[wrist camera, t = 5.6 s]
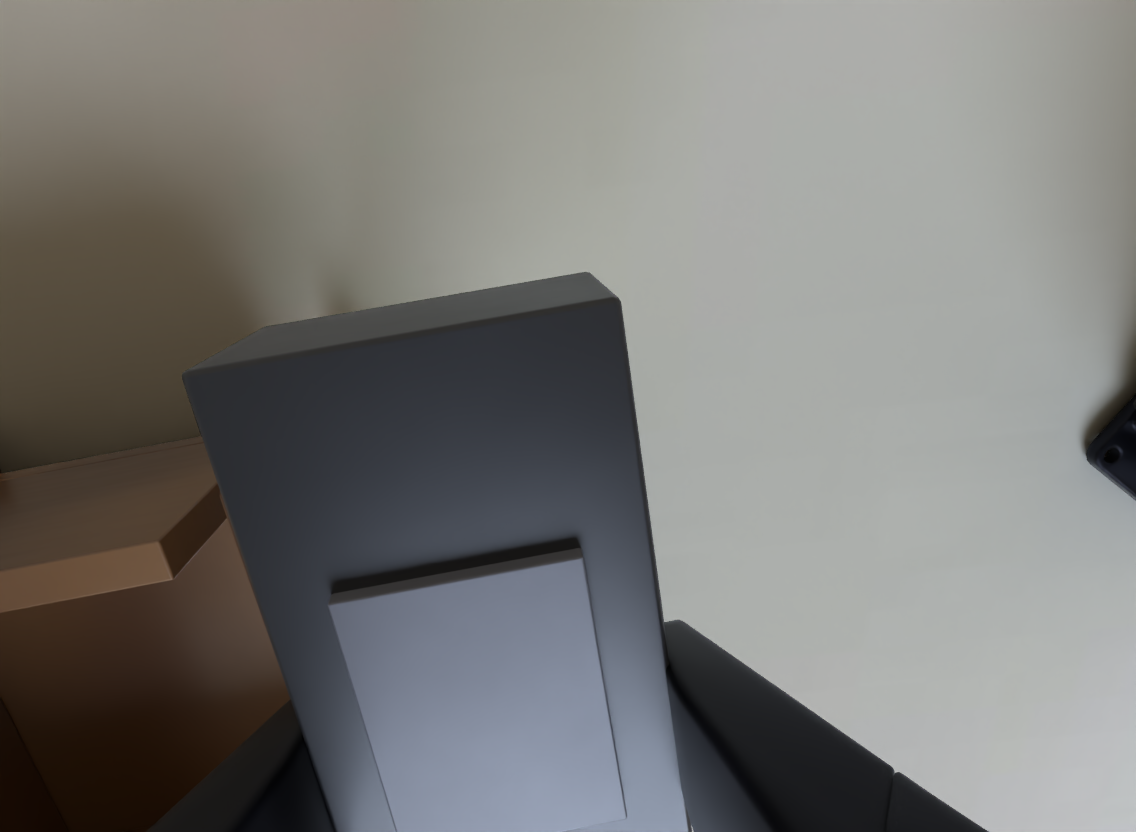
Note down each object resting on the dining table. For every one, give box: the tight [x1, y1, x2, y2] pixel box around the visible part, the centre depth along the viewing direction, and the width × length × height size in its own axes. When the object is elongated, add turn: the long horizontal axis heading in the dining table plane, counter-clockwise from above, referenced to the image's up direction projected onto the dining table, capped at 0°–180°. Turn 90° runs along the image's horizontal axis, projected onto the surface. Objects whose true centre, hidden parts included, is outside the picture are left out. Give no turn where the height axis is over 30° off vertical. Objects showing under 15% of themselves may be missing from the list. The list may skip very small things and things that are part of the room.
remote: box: [182, 272, 692, 832], centre depth 8 cm, size 4×9×2 cm, turn 9°
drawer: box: [0, 436, 290, 832], centre depth 17 cm, size 14×13×7 cm
